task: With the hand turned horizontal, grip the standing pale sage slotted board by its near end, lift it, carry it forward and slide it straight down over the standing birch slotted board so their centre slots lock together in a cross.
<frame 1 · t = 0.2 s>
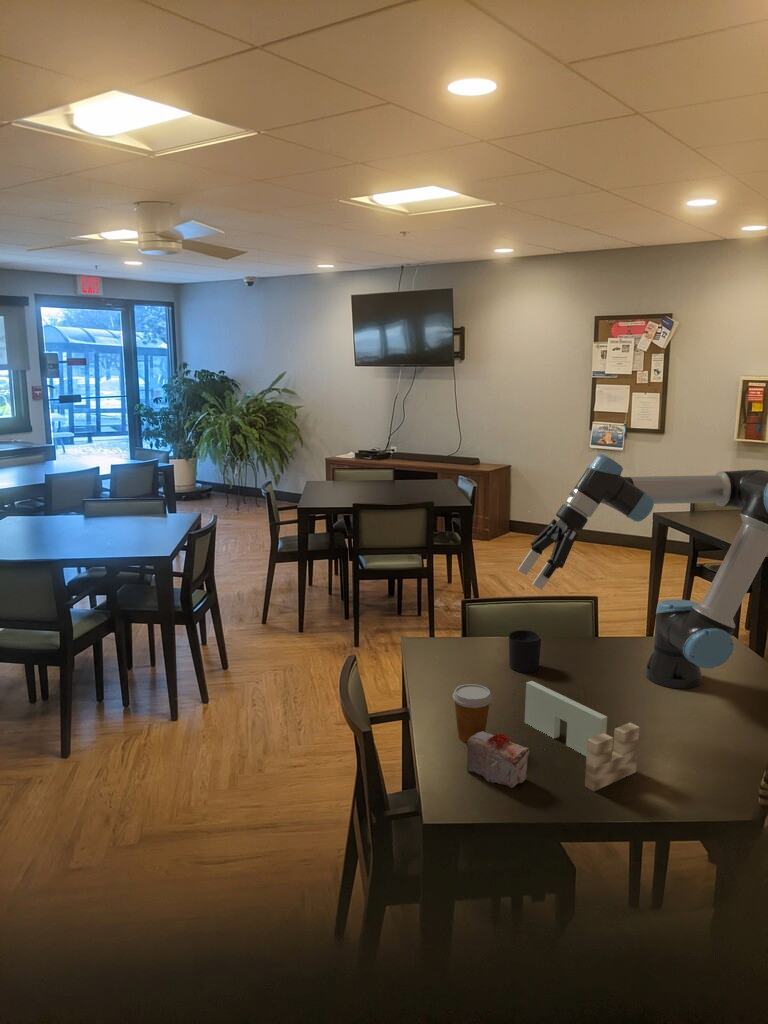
hand: (529, 579, 200), 35 cm above the table, tool tilted 35°, fingers open, 13 cm apart
pen holder: (523, 668, 232), on the table
disposable coffee cup: (471, 737, 190), on the table
sage slotted plate: (562, 741, 188), on the table
food item: (497, 777, 173), on the table
birch slotted plate: (610, 779, 172), on the table
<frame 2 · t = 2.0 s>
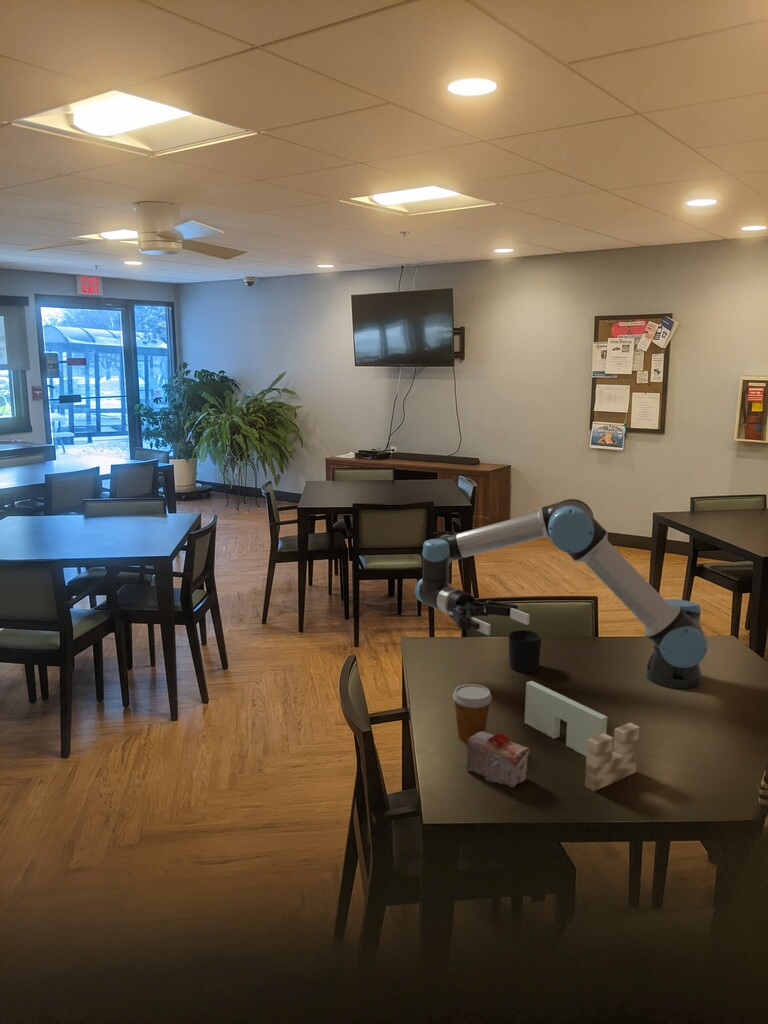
hand: (509, 624, 200), 24 cm above the table, tool horizontal, fingers open, 13 cm apart
nothing on the table moved.
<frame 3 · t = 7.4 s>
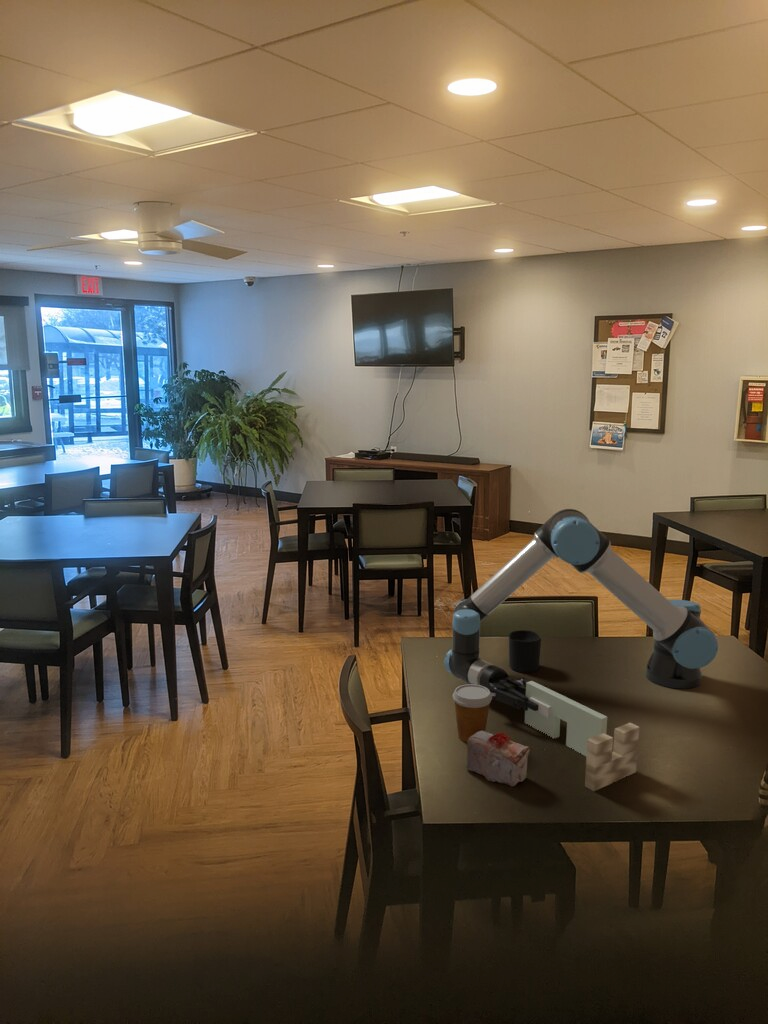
hand: (553, 710, 190), 7 cm above the table, tool horizontal, fingers closed on sage slotted plate, 2 cm apart
sage slotted plate: (562, 741, 188), on the table, touching gripper
everything else where it was.
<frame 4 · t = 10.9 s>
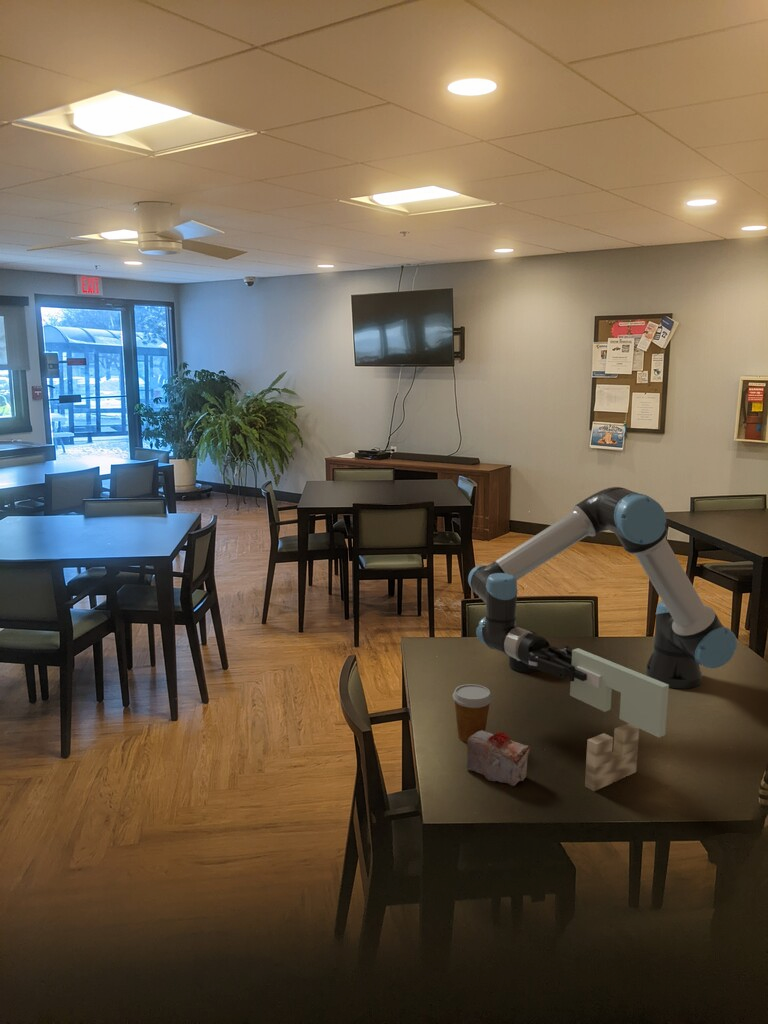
hand: (603, 680, 170), 22 cm above the table, tool horizontal, fingers closed on sage slotted plate, 2 cm apart
sage slotted plate: (614, 714, 168), point 15 cm above the table, touching gripper
everything else where it was.
when the fingers open (8 cm above the table, at t = 14.5 s): sage slotted plate drops 1 cm, on the table.
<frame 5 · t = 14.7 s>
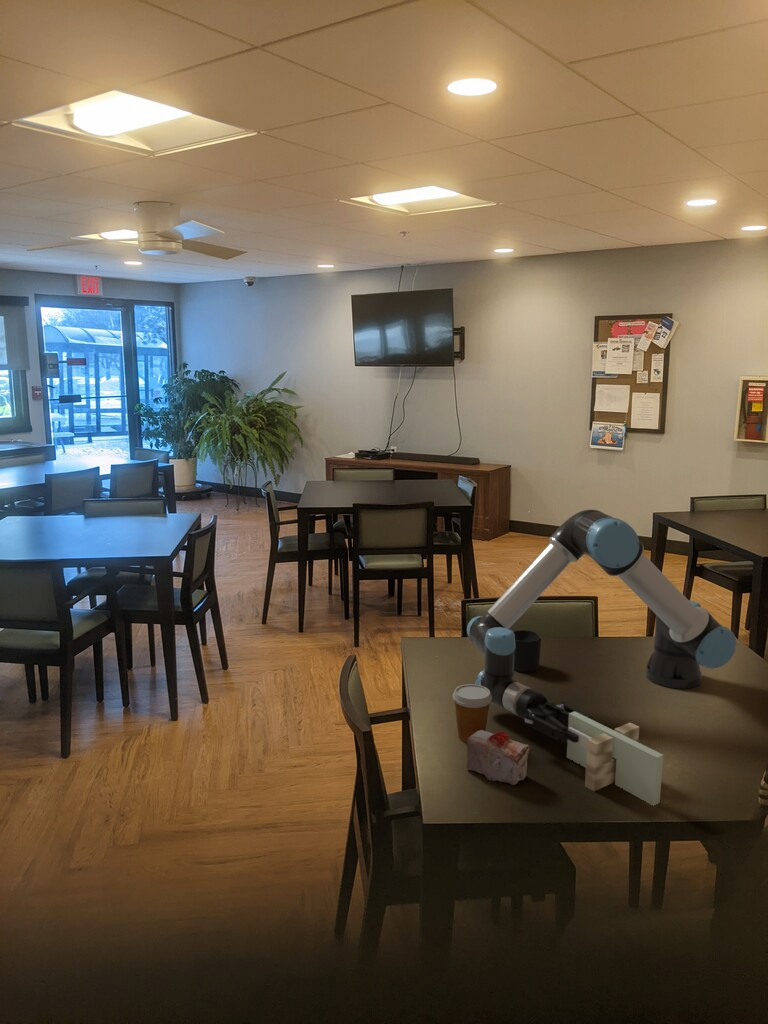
hand: (599, 741, 173), 8 cm above the table, tool horizontal, fingers open, 5 cm apart
sage slotted plate: (610, 778, 172), on the table
everything else where it was.
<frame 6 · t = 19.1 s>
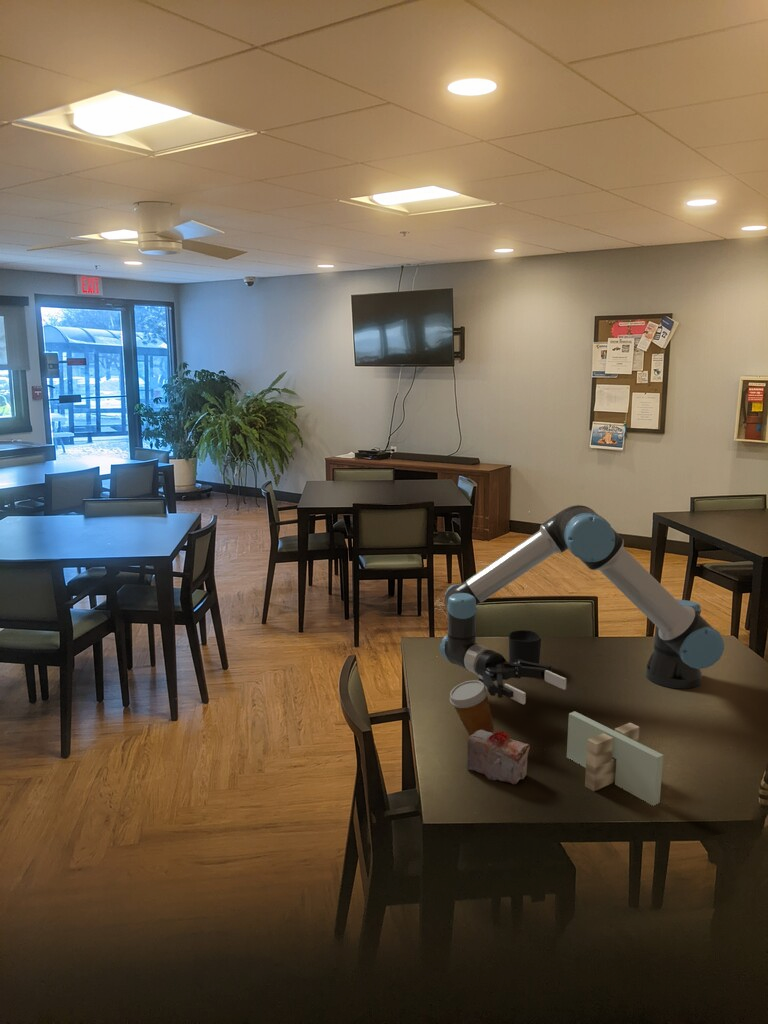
hand: (545, 691, 185), 13 cm above the table, tool horizontal, fingers open, 13 cm apart
disposable coffee cup: (481, 732, 191), point 1 cm above the table
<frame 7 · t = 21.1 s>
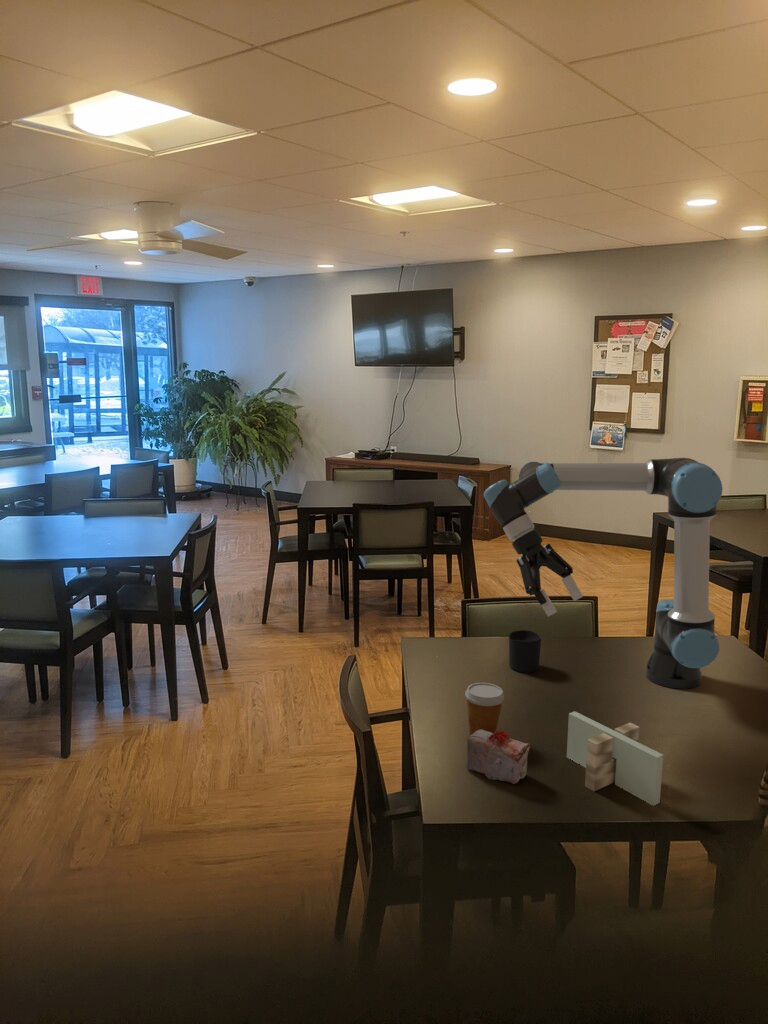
hand: (566, 606, 200), 28 cm above the table, tool tilted 35°, fingers open, 13 cm apart
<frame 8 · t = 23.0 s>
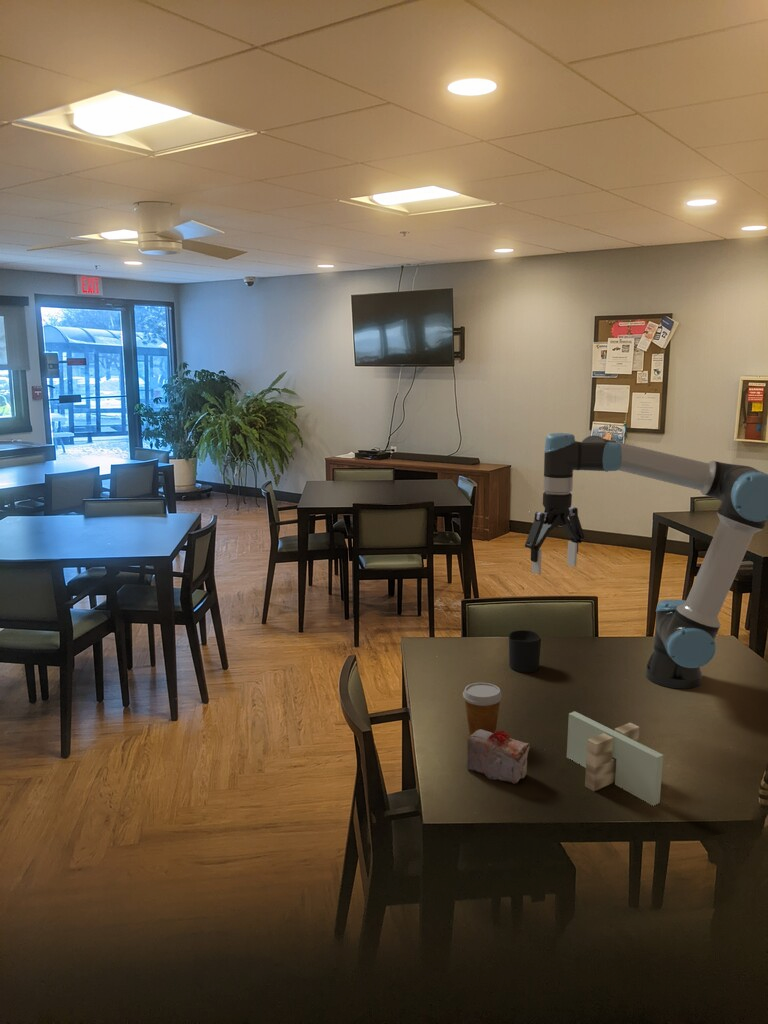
hand: (554, 569, 210), 35 cm above the table, tool pointing down, fingers open, 13 cm apart
at the end: sage slotted plate 0.1 cm off-centre on the birch slotted plate, point 0.0 cm above the birch slotted plate's base; sage slotted plate tilted 0°; the gripper is holding nothing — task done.
